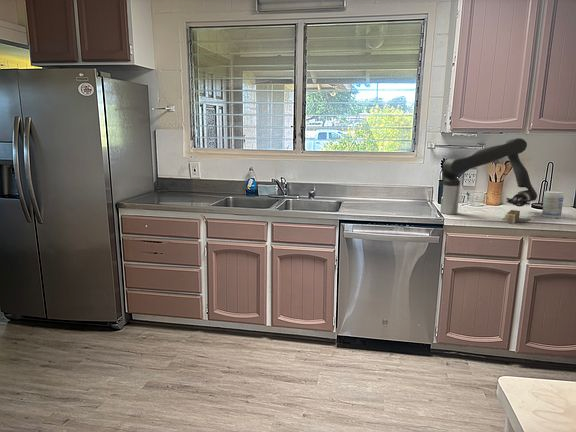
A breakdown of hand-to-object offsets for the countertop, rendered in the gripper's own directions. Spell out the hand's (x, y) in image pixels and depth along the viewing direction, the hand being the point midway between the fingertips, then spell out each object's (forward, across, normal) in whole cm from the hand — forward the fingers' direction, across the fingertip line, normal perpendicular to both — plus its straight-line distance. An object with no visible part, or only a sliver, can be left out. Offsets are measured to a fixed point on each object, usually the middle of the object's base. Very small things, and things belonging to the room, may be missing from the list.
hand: (514, 203), depth 231 cm
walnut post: (-5, 0, +7) cm, 8 cm away
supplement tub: (-26, +15, +10) cm, 32 cm away
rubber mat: (-4, +1, +10) cm, 11 cm away
